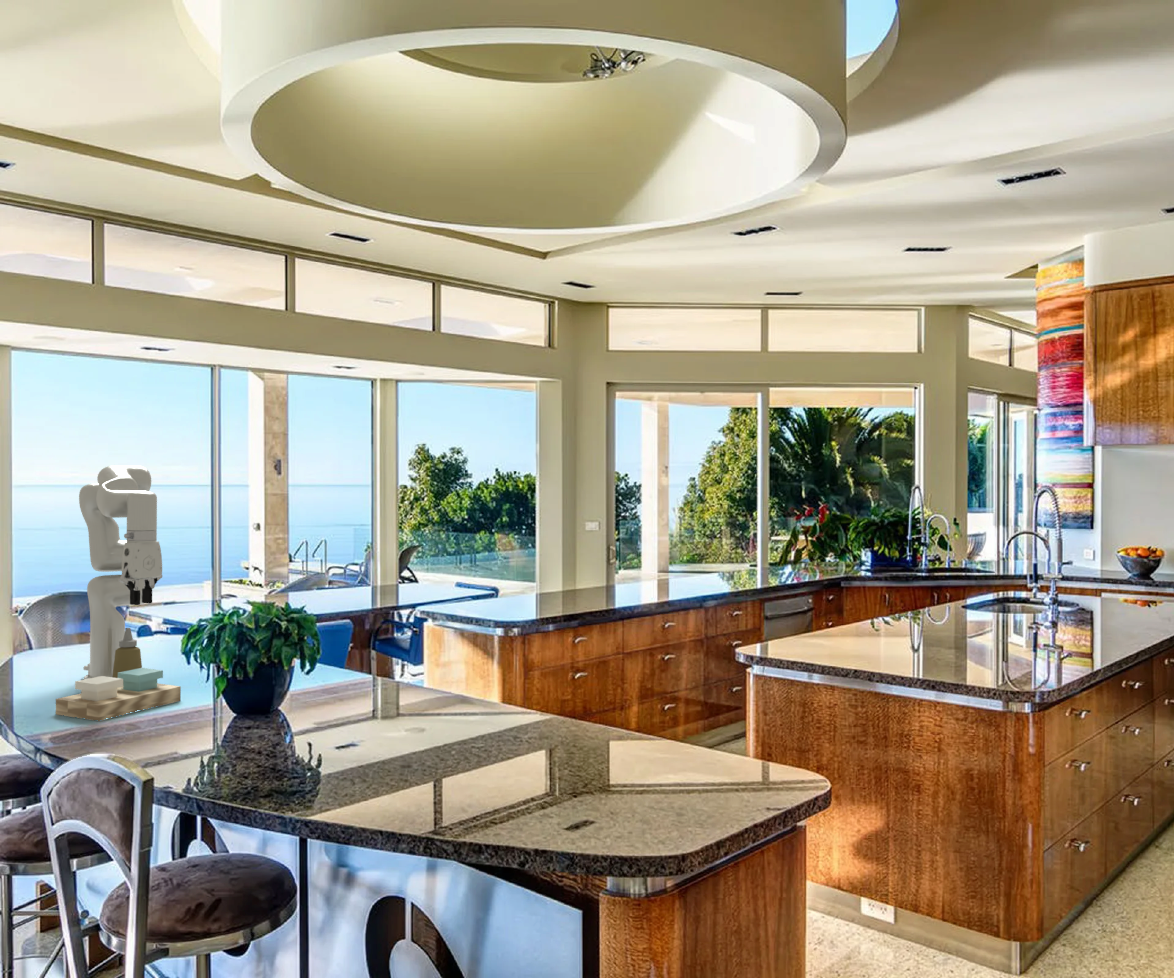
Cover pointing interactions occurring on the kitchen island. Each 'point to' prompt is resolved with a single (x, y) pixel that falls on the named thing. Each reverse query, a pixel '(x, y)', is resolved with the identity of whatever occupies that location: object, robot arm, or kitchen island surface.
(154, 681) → the teal key
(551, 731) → the kitchen island surface
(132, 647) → the squeeze bottle
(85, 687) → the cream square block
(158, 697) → the light wood flat block
